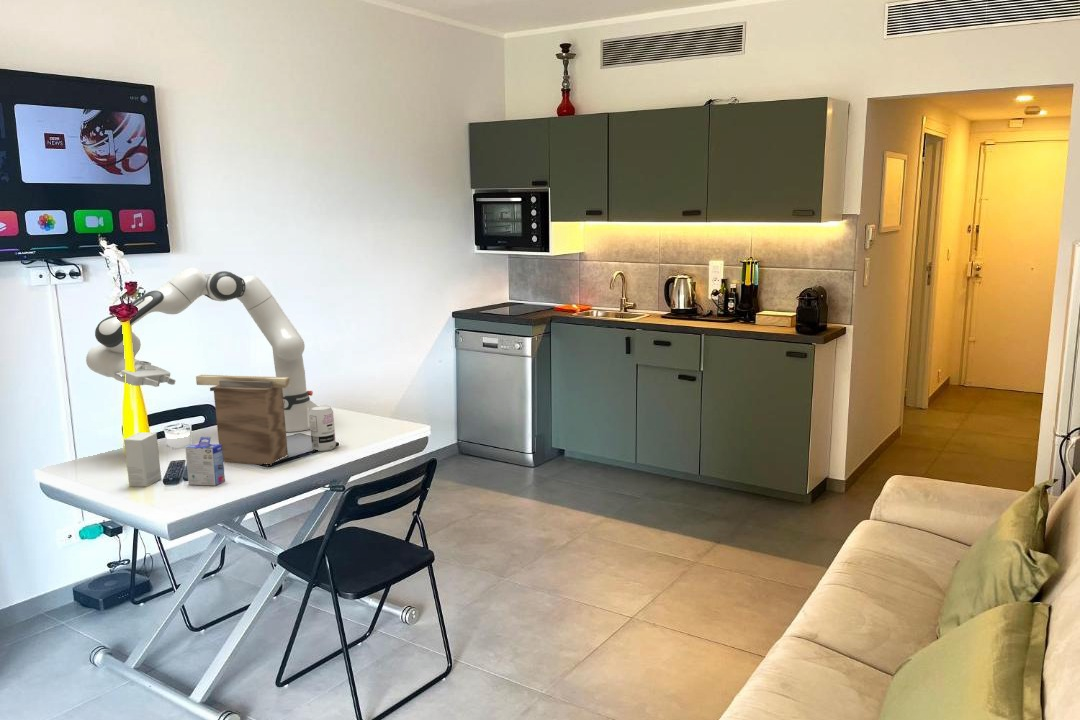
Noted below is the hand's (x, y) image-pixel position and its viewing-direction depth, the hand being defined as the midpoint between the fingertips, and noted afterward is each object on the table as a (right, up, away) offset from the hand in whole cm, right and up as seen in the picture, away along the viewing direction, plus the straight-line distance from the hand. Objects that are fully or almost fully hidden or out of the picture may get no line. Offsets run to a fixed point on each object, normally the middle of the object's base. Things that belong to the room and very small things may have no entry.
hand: (166, 383), depth 291 cm
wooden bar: (+29, -1, -5) cm, 29 cm away
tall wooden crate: (+31, -26, -2) cm, 41 cm away
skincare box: (+4, -31, -24) cm, 40 cm away
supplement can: (+52, -24, +10) cm, 58 cm away
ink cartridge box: (+25, -31, -26) cm, 48 cm away
